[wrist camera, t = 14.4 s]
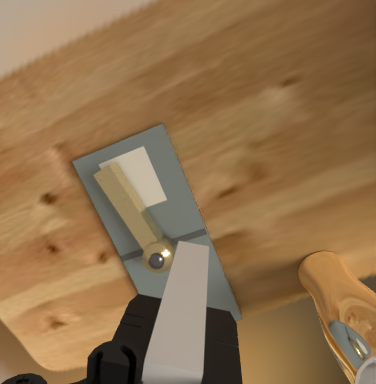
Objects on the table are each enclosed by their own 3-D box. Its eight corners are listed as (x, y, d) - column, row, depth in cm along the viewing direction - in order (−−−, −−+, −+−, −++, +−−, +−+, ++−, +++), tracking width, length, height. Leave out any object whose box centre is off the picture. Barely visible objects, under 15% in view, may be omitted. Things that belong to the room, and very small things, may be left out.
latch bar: (157, 264, 34) (151, 280, 31) (96, 173, 32) (82, 180, 28) (181, 252, 34) (177, 268, 30) (121, 158, 31) (110, 164, 27)
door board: (163, 123, 31) (161, 123, 30) (241, 313, 37) (242, 319, 36) (76, 159, 33) (71, 161, 32) (164, 333, 40) (162, 340, 38)
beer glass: (283, 272, 35) (332, 381, 21) (323, 237, 33) (408, 330, 19) (320, 303, 36) (392, 428, 22) (361, 270, 34) (470, 383, 20)
